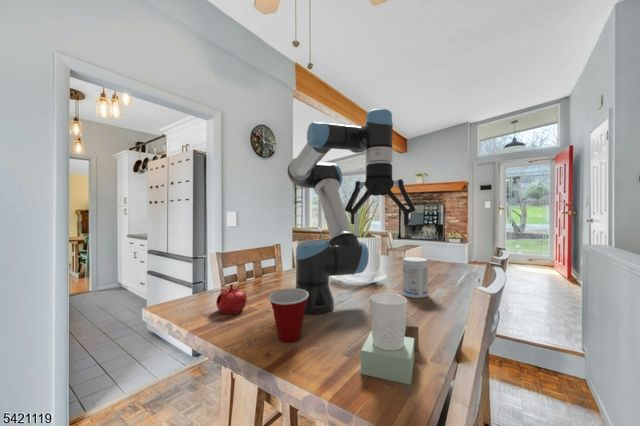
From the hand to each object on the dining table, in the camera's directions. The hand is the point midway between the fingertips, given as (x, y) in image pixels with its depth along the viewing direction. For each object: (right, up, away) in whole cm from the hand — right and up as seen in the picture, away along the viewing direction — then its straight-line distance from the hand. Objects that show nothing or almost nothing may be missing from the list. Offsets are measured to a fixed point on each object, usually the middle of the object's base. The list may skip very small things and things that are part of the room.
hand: (379, 236), depth 84 cm
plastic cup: (-26, -27, -8) cm, 38 cm away
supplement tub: (+21, -27, +31) cm, 46 cm away
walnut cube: (+4, -27, -11) cm, 29 cm away
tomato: (-48, -27, +13) cm, 56 cm away
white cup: (-2, -22, -21) cm, 31 cm away
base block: (-2, -27, -21) cm, 34 cm away
